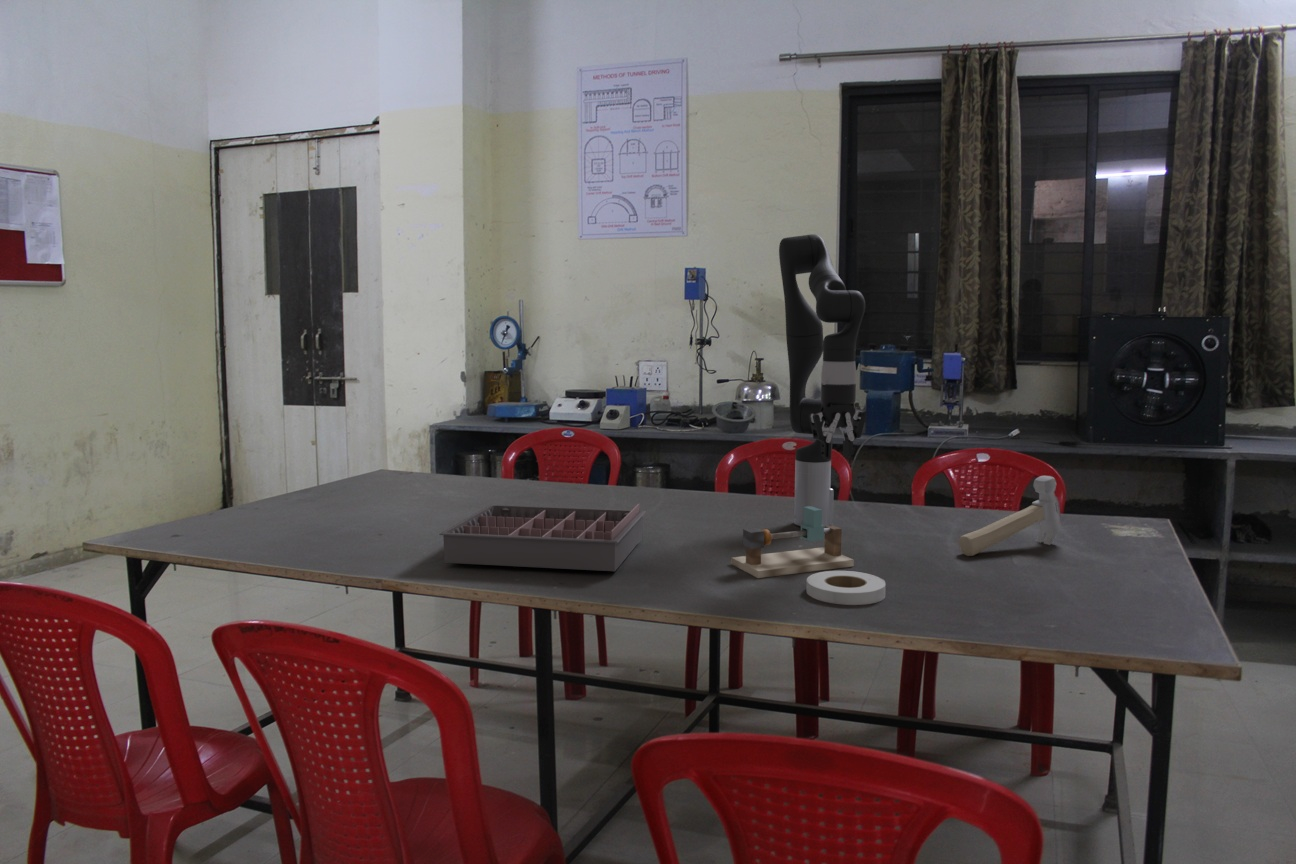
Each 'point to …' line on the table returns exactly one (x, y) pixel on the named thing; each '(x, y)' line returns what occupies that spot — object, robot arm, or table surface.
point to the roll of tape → (846, 587)
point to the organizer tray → (545, 537)
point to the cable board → (790, 554)
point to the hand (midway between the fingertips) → (836, 457)
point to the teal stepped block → (812, 524)
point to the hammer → (1020, 521)
